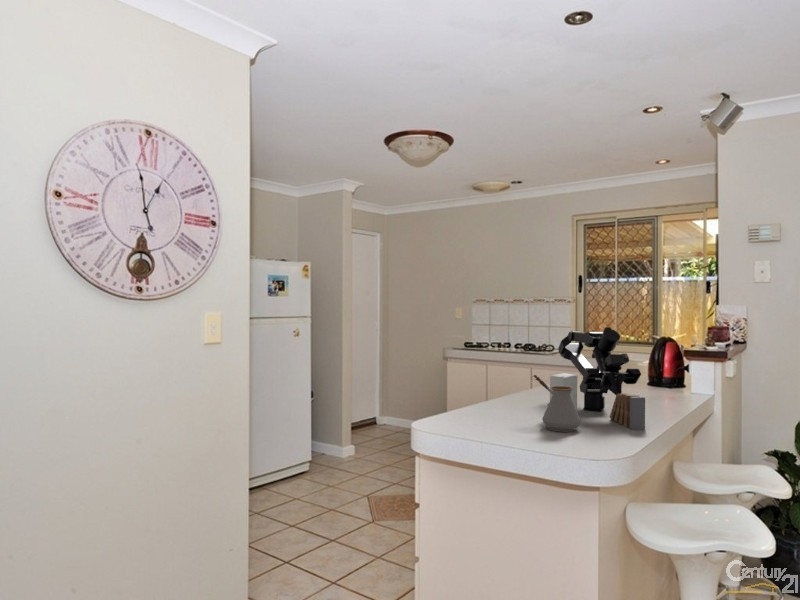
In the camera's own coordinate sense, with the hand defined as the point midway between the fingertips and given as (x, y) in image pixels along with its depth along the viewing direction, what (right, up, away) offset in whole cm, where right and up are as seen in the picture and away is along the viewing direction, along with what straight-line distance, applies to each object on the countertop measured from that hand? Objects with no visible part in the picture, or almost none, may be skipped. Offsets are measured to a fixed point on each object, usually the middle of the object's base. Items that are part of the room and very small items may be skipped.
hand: (619, 396), depth 180 cm
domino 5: (+1, -8, -11) cm, 14 cm away
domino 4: (+1, -8, -8) cm, 11 cm away
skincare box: (-18, -8, +4) cm, 20 cm away
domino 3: (0, -8, -4) cm, 9 cm away
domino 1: (0, -8, +2) cm, 8 cm away
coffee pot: (-25, -8, -8) cm, 27 cm away
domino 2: (0, -8, -1) cm, 8 cm away
